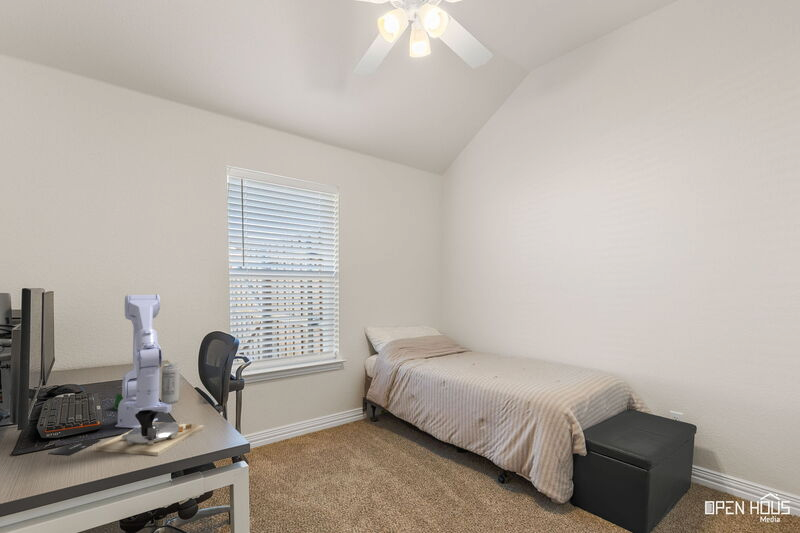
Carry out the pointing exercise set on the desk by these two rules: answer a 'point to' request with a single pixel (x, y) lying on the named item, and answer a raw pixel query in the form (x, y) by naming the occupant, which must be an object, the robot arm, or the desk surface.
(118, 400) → the clamp
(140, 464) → the desk surface
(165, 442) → the board
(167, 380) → the energy drink can
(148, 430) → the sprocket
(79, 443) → the solid state drive
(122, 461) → the desk surface
